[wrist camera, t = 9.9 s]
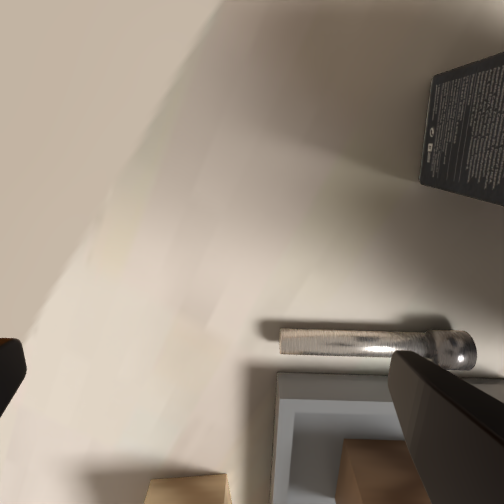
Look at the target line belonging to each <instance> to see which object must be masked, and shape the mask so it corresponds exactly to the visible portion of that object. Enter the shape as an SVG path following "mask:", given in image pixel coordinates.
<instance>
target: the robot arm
mask: <svg viewBox="0 0 504 504" xmlns="http://www.w3.org/2000/svg"><path fill="white" fill-rule="evenodd" d="M26 371H27V366H26V362H25V357H24V352H23V348H22V344H21V342H20V340H18V339H15V338H0V417H1V416H2V414H3V412H4V411H5V409H6V408H7V406H8V404H9V403H10V401H11V399H12V398H13V396H14V394H15V393H16V391H17V389H18V388H19V386H20V384H21V383H22V381H23V380H24V378H25V375H26ZM388 389H389V392H390V395H391V398H392V401H393V404H394V408H395V411H396V414H397V417H398V420H399V423H400V426H401V429H402V432H403V436H404V439H405V442H406V445H407V447H408V450H409V453H410V455H411V458H412V460H413V463H414V465H415V467H416V469H417V472H418V474H419V476H420V479H421V481H422V483H423V485H424V488H425V490H426V492H427V495H428V497H429V499H430V501H431V504H504V403H503V402H501V401H499V400H498V399H496V398H494V397H492V396H491V395H489V394H487V393H485V392H484V391H482V390H480V389H478V388H477V387H475V386H473V385H471V384H470V383H468V382H466V381H464V380H463V379H461V378H459V377H457V376H456V375H454V374H452V373H450V372H449V371H447V370H445V369H443V368H442V367H440V366H438V365H436V364H435V363H433V362H431V361H429V360H428V359H426V358H424V357H422V356H421V355H419V354H417V353H415V352H413V351H410V350H396V351H394V352H393V354H392V358H391V363H390V369H389V374H388Z"/></svg>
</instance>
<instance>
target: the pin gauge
mask: <svg viewBox="0 0 504 504" xmlns="http://www.w3.org/2000/svg"><path fill="white" fill-rule="evenodd" d="M279 349H280V354H289V355H323V356H356V357H389V358H392V354H393V352H394V351H396V350H410V351H413V352H415V353H417V354H419V355H421V356H422V357H424V358H426V359H428V360H429V361H431V362H433V363H435V364H436V365H438V366H440V367H442V368H443V369H445V370H467V371H468V370H471V369H472V368H473V367H474V366H475V364H476V360H477V350H476V346H475V343H474V341H473V339H472V337H471V336H470V335H469V334H468V333H467V332H465V331H459V330H428V331H426V333H420V332H387V331H353V330H320V329H286V328H280V335H279Z"/></svg>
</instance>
